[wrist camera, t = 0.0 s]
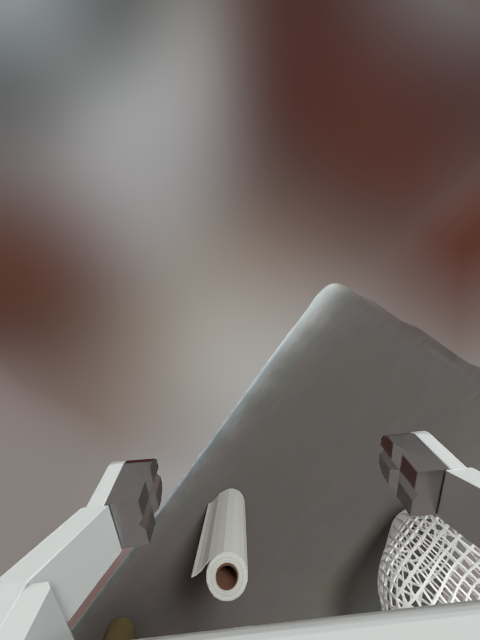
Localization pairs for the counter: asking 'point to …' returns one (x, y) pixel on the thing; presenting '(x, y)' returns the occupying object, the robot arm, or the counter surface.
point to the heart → (390, 546)
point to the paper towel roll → (224, 546)
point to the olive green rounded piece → (120, 630)
